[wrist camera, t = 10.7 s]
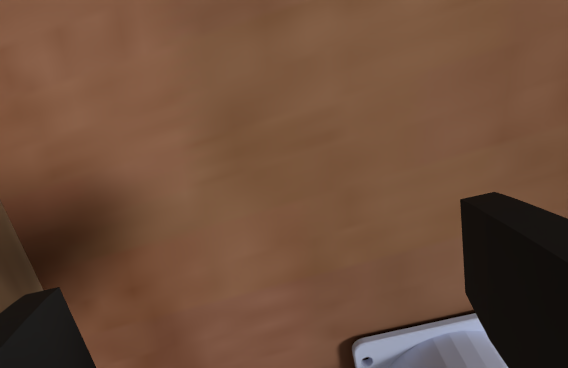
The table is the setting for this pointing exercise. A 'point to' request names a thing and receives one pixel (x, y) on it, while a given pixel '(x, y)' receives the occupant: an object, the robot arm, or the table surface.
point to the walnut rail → (14, 266)
